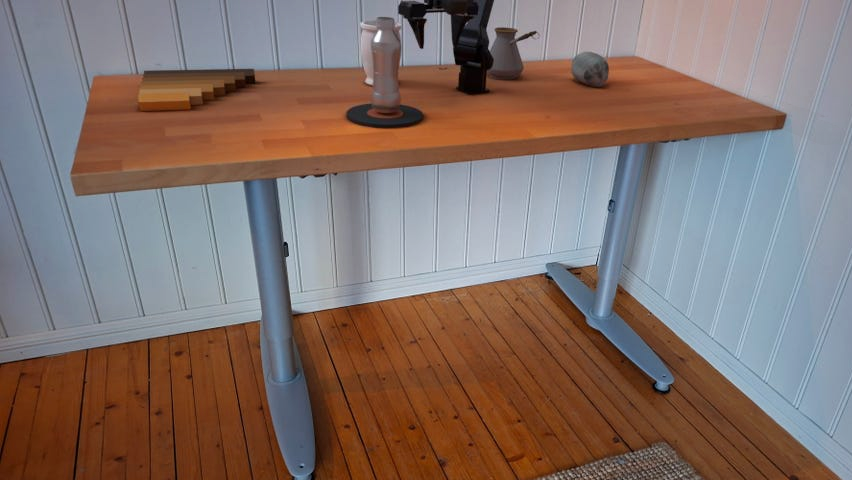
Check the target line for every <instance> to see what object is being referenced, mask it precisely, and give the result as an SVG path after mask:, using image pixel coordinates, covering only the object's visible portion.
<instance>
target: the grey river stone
mask: <svg viewBox="0 0 852 480" xmlns="http://www.w3.org/2000/svg"><path fill="white" fill-rule="evenodd" d="M570 66H571V74H572V77H573V78H574V79H576V80H577V81H578V82H580V83H582V84H584V85H586V86H590V87H594V88H599V87H602V86H604V85H605V84H606V82H607V80H608V79H609V73H610V72H609V71H610V66H609V62H608V61H607V60H606V58H605V57H603V56H602V55H600V54H598V53H596V52H593V51H582V52H579V53H577V54H576V55H575V56H574V57H573V60H572V62H571V65H570Z"/></svg>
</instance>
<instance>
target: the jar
mask: <svg viewBox="0 0 852 480" xmlns="http://www.w3.org/2000/svg"><path fill="white" fill-rule="evenodd" d="M376 24H377V19H376V20H365V21H364V20H363V21H361V22H360V23H359V26H360V28H361V29H362V30H361V34H360V56H361V61H362V66H363V67H362V68H363V69H364V70H363V71H364V73H365V75H366V78H365V80H364V82H365V83H366V84H367V85H369V86H372V87H373V77H374V73H373V71H374V69H373V59H372V52H371V40H372V38H373V36H374V35H375V33H376V32H377V30H378V27H376ZM394 25H395V28H394V32H395V33H396V35H397V36H398V38H399V40H400V42H401V43H402V39H401V33H400V31H401V29H402V24H401V23H400V22H397V21H394ZM401 58H402V51H401V52H400V59H399V66H400V64H401Z"/></svg>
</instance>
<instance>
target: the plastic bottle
mask: <svg viewBox="0 0 852 480" xmlns="http://www.w3.org/2000/svg"><path fill="white" fill-rule="evenodd" d="M376 20H377V24H376V27H378V30H377V32H376V33H375V35H374V36H373V38H372V40H371V52H372V59H373V69H374V71H373V73H374V77H373V86H372V90H371V95H370V103H371V105H372V108H373V109H374V111H376V112H380V113H395V112H397V111H398V110H399V108H400V104H402V98H401V91H400V84H399V82H400V81H399V71H400V70H399V69H400V65H399V59H400V60H401V58H400V52H401V53H402V41H401V42H400V40H399V38H398V36H397V35H396V33H395V32H394V28H395V25H394V22H395V18H394V17H390V16H378V17H376Z"/></svg>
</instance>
